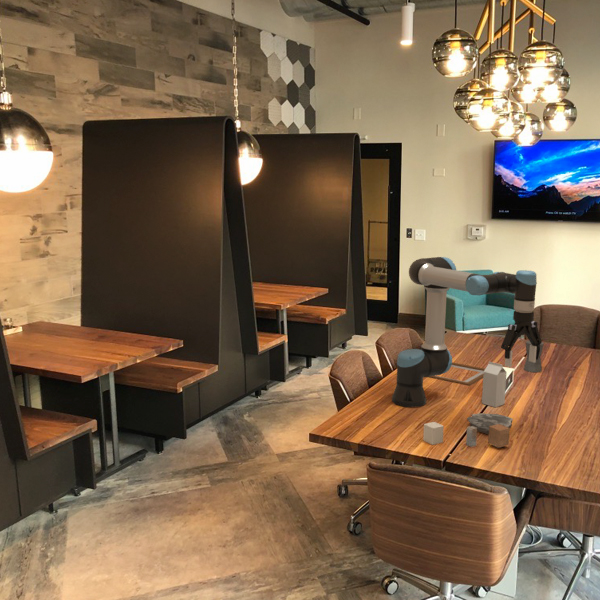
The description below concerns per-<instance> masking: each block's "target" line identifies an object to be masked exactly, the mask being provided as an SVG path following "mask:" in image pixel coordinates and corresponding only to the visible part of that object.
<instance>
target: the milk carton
mask: <svg viewBox="0 0 600 600" xmlns="http://www.w3.org/2000/svg"><path fill="white" fill-rule="evenodd" d="M482 379H483V380H482V393H481V394H482V395H481V404H483V405H486V406H489V407H491V408H497V407H500V406H503V405H505V400H506V388H507V387H506V386H507V371H506V369H505V368H504V367H503V364H501V363H497V362H493V361H488V364H487V365H486V367H485V370H484V375H483V378H482Z"/></svg>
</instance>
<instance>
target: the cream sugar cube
mask: <svg viewBox="0 0 600 600" xmlns="http://www.w3.org/2000/svg"><path fill="white" fill-rule="evenodd" d="M422 441H423V442H426V443H427V444H430V445H431V446H434V445H438V444H442V443H444V425H442V424H441V423H438V422H436V421H432V422H427V423H424V424H423V440H422Z"/></svg>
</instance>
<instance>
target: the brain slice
mask: <svg viewBox="0 0 600 600" xmlns="http://www.w3.org/2000/svg"><path fill="white" fill-rule="evenodd" d="M466 419H467V422H468V423H469V424H470V426H474V427H476V428H477V432H479V433H481V434H482V433H483V434H484V435H488V436H489V426H492V425H496V424H501V425H503V426H506V427H508V428H510V429H511V427H512V423H513V421H514V418H512V417H509V416H506V415H502V414H499V413H485V412H483V413H473V414H471V415H470V416H468V417H466Z"/></svg>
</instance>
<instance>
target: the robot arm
mask: <svg viewBox="0 0 600 600" xmlns="http://www.w3.org/2000/svg"><path fill="white" fill-rule="evenodd" d="M408 277H409V278H410V280H411V281H412V282H413V283H415V284H416V285H419V286H423V288H424V289H425V290H426V310H425V311H426V312H425V313H426V315H425V332H424V333H425V334H424V335H425V337H424V343H422V344H421V346H420V347H421V349H419V348H412V349H411V348H408V349H403V350H401V351H399V353H398V354H397V360H396V385H395V389H394V392H393V393H392V396H391V402H392V403H393V404H395V405H396V406H399V407H404V408H405V407H406V408H418V407H423V406H425V405H426V404H427V396H426V394H425V390H424V389H425V388H424V385H423V384H424V378H429V377H430V376H440V375H442V374H443V375H444V374H446V373H448V371H450V369H451V368H452V367H451V365H452V362H453V356H452V355H451V354H452V353H451V351H450V350H449V349H448V346H447V344H446V343H445V335H446V334H445V332H446V315H447V314H446V312H447V294H448V291H449V290H450V289H452V290H458V291H462V292H467V293H469V295H470V296H483V295H492V294H500V293H508V294H513V295H514V301H513V310H514V311H513V315H512V320H513V321H514V324H511V323H509V324H508V325H507V330H506V333H505V336H504V338H503V341H502V343H501V345H500V349H502V350H504V367H507V368H512V367H513V366H512V365H513V364H512V363H513V350H512V349H513V347H514V345H515V344H516V343H517V341H518V339H519V338H520V337H521V336H524V335H525V336H526V338H527V339H528V341H530V342H531V344H532V345H530V349H529V361H530V362H534V363H535V362H536V353H537V346H540V344H541V343H542V339H541V336H540V332H539V328H538V321H534V318H535V312H534V311H535V306H536V303H535V301H536V290H537V284H538V283H537V282H538V281H537V273H536V271H533V270H527V269H525V270H524V269H523V270H517V271H516V273H515V274H514V273H509V272H504V271H494V272H493V273H491V274H479V273H474V272H466V271H461V270H457V267H456V265H455V263H454V262H453V260H452V259H451V258H450V257H446V256H437V257H427V258H426V257H425V258H424V257H423V258H419V259H416V260H414V261H413V262H412V263H411V264H410V266H409V268H408Z"/></svg>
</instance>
